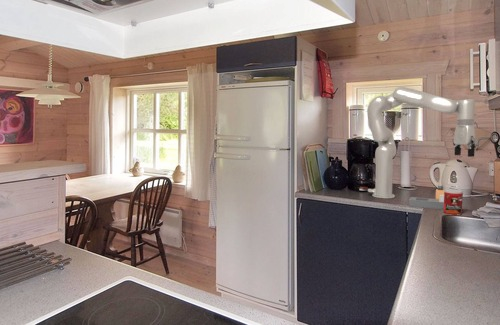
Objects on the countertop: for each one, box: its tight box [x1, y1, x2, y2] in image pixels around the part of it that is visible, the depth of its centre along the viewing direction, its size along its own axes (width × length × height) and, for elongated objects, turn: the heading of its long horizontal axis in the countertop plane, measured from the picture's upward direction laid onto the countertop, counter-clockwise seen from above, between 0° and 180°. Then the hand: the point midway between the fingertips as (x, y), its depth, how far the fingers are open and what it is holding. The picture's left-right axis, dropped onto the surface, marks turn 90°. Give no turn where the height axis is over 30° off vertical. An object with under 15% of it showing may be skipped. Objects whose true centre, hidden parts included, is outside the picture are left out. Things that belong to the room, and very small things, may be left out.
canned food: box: [443, 188, 464, 216], centre depth 165 cm, size 8×8×11 cm
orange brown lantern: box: [435, 185, 446, 199], centre depth 183 cm, size 4×4×10 cm
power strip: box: [408, 194, 444, 211], centre depth 178 cm, size 20×8×6 cm, turn 59°
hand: (464, 155), depth 180 cm, fingers open, 9 cm apart
